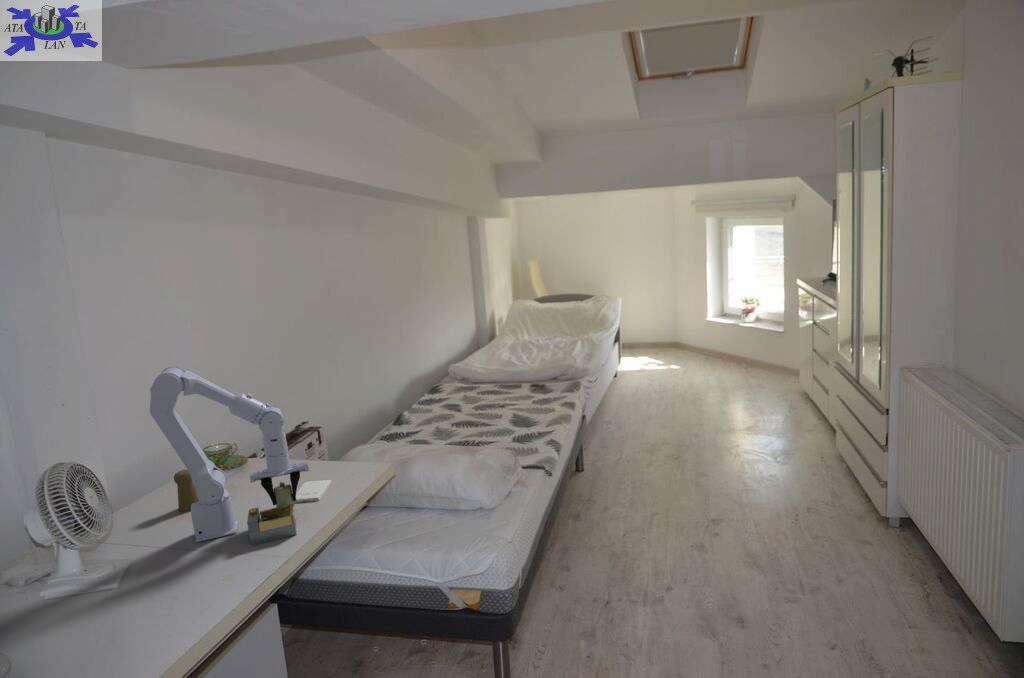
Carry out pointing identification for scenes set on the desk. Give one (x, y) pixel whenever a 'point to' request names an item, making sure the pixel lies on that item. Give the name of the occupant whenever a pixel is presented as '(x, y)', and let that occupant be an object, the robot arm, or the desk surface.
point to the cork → (185, 490)
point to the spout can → (283, 495)
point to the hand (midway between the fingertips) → (284, 501)
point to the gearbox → (271, 524)
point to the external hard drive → (312, 490)
